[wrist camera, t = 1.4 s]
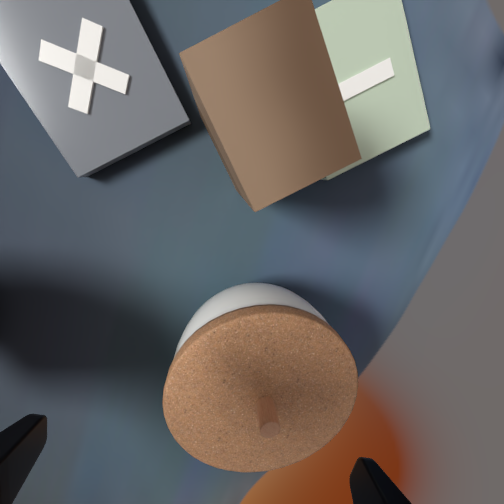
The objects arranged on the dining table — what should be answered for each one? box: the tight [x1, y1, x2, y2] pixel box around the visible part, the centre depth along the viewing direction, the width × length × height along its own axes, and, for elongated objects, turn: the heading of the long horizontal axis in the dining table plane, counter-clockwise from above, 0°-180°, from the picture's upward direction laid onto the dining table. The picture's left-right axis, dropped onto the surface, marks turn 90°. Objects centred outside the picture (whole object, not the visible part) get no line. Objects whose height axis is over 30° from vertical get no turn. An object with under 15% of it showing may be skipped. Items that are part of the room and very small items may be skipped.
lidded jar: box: [163, 283, 358, 472], centre depth 17 cm, size 11×11×9 cm
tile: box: [0, 0, 191, 177], centre depth 15 cm, size 8×9×1 cm
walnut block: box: [179, 0, 362, 212], centre depth 13 cm, size 4×5×10 cm
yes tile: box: [315, 0, 430, 180], centre depth 17 cm, size 8×9×1 cm
